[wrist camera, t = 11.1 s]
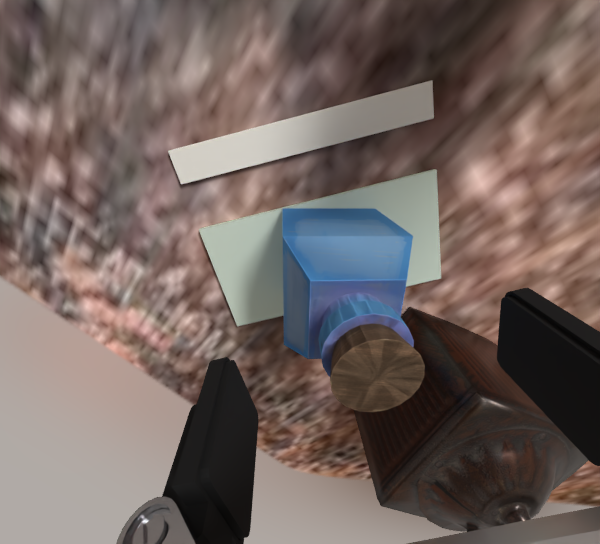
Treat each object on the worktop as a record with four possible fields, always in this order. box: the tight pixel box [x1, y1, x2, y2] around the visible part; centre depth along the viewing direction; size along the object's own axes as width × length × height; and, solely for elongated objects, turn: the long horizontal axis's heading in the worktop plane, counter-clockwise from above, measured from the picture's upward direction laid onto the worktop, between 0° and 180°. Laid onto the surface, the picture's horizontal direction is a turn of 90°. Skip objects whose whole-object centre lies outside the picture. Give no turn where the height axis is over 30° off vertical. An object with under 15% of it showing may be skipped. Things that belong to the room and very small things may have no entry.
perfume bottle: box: [282, 208, 425, 412], centre depth 15 cm, size 6×6×12 cm
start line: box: [168, 80, 434, 184], centre depth 18 cm, size 2×16×1 cm, turn 104°
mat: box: [199, 169, 441, 326], centre depth 21 cm, size 8×16×1 cm, turn 103°
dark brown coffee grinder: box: [354, 307, 588, 532], centre depth 19 cm, size 16×11×18 cm
